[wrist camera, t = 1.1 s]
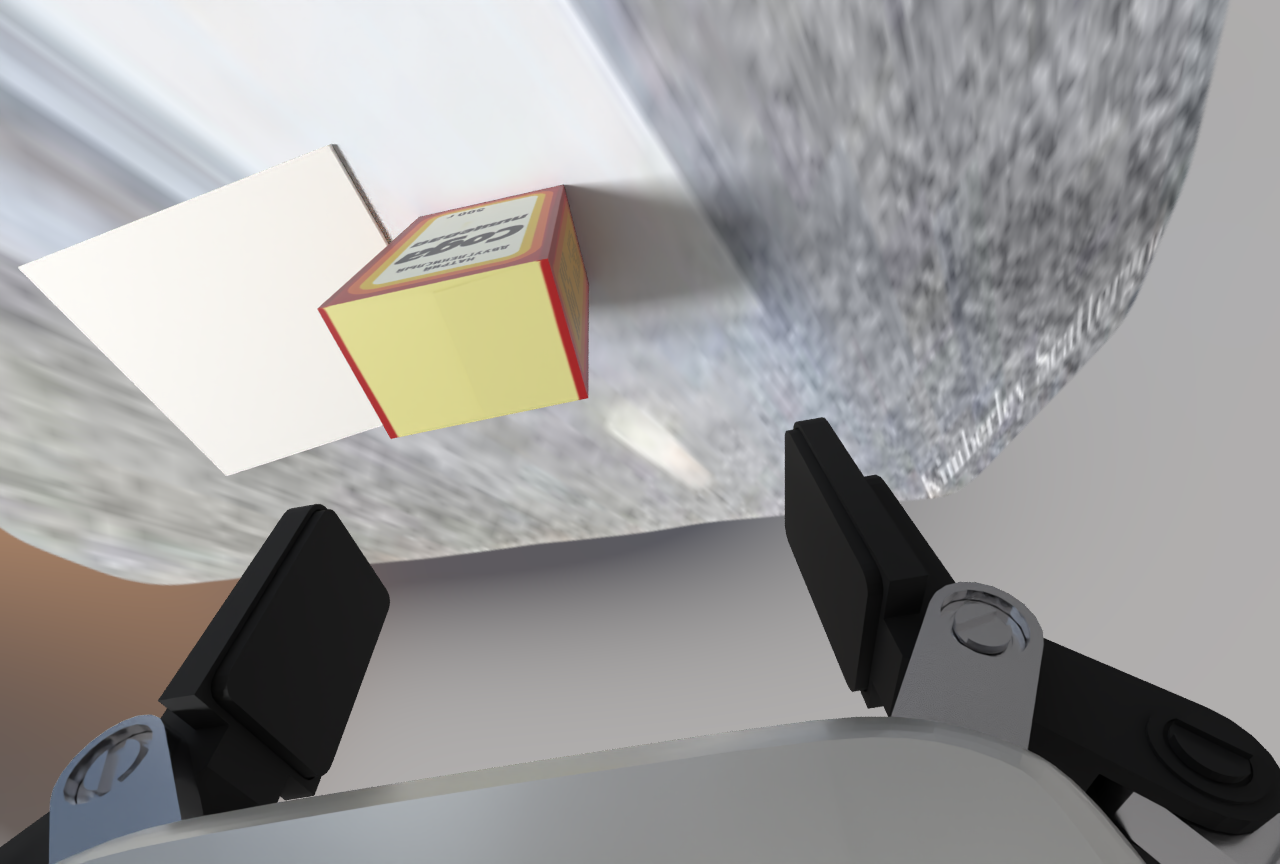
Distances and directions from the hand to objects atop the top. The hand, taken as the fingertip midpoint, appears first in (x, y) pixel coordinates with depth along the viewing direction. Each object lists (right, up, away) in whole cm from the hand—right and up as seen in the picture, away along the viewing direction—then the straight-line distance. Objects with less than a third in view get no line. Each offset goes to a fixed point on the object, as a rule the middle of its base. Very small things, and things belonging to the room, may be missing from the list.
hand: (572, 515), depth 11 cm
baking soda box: (-7, +14, +25) cm, 29 cm away
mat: (-25, +9, +27) cm, 37 cm away
